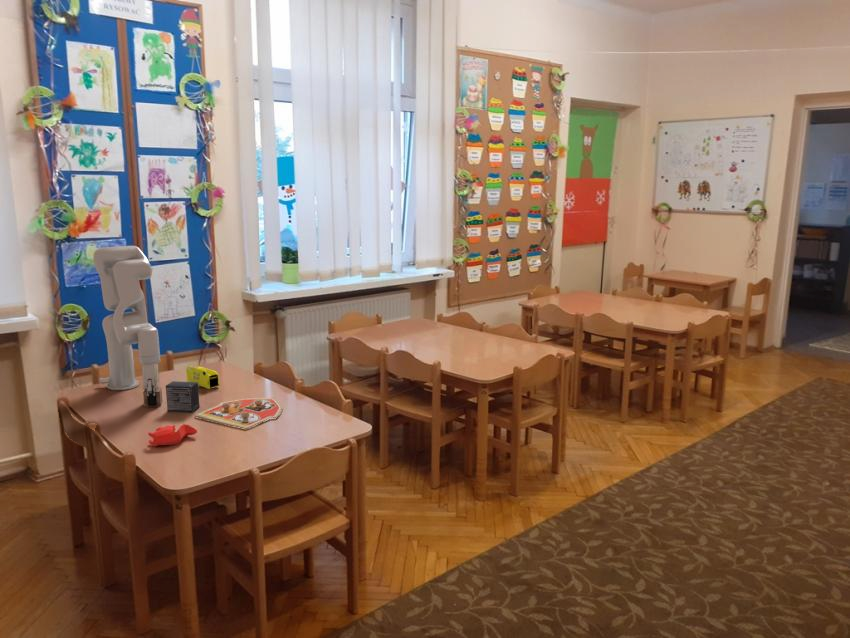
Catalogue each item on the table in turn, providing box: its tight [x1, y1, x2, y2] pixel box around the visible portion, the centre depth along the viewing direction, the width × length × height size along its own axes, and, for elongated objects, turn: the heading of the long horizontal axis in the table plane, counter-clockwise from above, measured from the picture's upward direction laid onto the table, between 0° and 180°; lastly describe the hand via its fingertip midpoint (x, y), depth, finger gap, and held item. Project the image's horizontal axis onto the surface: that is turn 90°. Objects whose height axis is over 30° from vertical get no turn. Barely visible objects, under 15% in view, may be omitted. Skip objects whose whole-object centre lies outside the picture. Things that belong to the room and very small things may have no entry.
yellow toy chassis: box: [185, 365, 220, 390], centre depth 284 cm, size 16×6×8 cm, turn 53°
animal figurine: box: [147, 424, 198, 448], centre depth 226 cm, size 12×15×5 cm
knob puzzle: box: [194, 397, 284, 429], centre depth 254 cm, size 29×30×4 cm
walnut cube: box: [142, 386, 163, 408], centre depth 261 cm, size 6×6×6 cm
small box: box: [165, 381, 200, 413], centre depth 255 cm, size 11×6×10 cm, turn 84°
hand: (153, 402), depth 261 cm, fingers closed on walnut cube, 6 cm apart
